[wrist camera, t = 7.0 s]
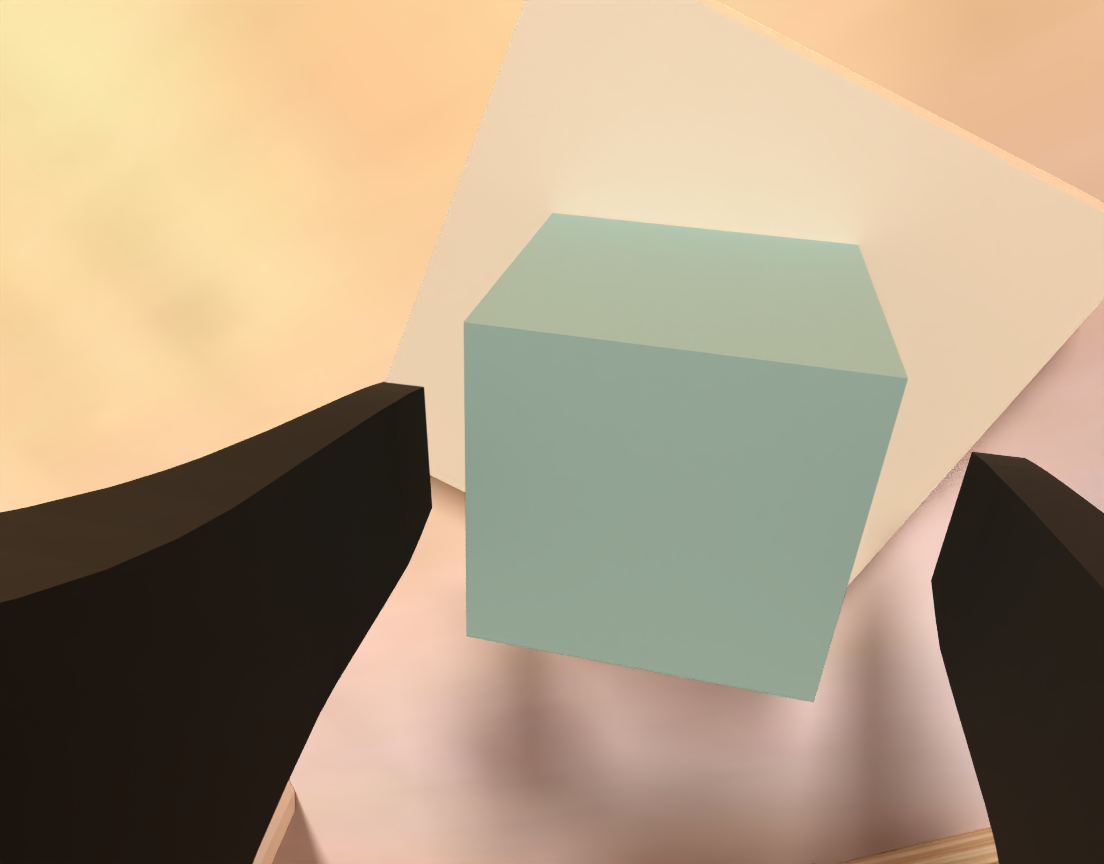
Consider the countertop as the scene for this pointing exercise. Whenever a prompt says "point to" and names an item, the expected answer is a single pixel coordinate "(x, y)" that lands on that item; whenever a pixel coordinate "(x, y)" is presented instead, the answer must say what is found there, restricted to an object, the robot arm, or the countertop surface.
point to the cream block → (765, 210)
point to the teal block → (674, 448)
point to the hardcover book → (942, 851)
